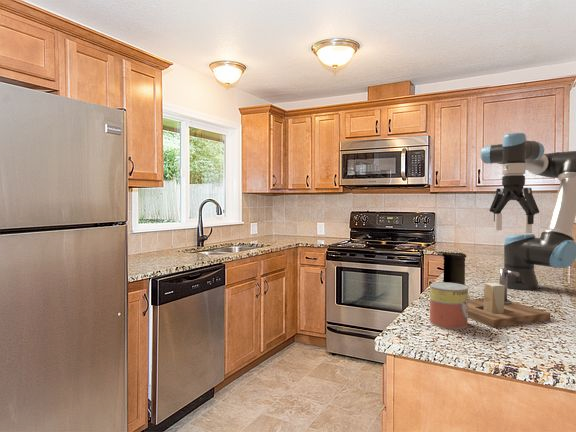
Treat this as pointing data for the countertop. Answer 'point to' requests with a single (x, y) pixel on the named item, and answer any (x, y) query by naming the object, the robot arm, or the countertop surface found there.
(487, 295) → the box
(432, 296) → the canned food
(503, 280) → the door lever handle
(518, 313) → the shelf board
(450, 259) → the container
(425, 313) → the countertop surface
